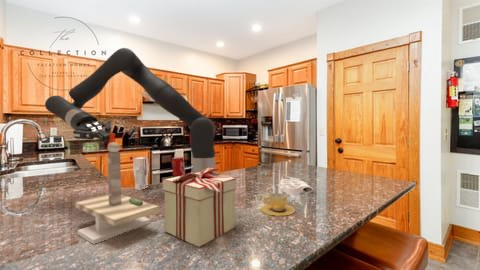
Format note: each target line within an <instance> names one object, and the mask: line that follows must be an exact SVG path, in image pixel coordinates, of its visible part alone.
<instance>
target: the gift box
mask: <svg viewBox="0 0 480 270" xmlns="http://www.w3.org/2000/svg"><path fill="white" fill-rule="evenodd" d="M219 170H220V169H219V168H216V167H215V168H206V169H204V170H202V171H201V172H198V173H193V172H189V173H185V175H183V176H179V177H174V178H173V177H170V178H165V179H163V180H162V191H164V231H165V233H168V234H170V235H172V236H175V237H176V238H178V239H180V240H182V241H185V242H187V243H189V244H191V245H193V246H196V247H197V248H200V247H203V246H204V245H206V244H207V243H209V242H211V241H213V240H215V239H217V238H219V237H221V236H222V235H224V234H226V233H228V232H230V231H232V230H233V229H235V228H236V227H235V225H236V222H235V218H236V214H235V211H236V202H235V201H236V189H237V178H239V176H234V175H230V174H223V173H221V174H220V173H219V174H217V173H215V174H214V173H212V172H213V171H215V172H217V171H219Z"/></svg>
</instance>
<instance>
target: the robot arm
mask: <svg viewBox="0 0 480 270" xmlns="http://www.w3.org/2000/svg"><path fill="white" fill-rule="evenodd" d="M119 73H122V74H124V75H125V76H127V77H129V78H130V79H132V80H133V81H134V82H136V83H137V84H138V85H139V86H141V87H142V88H143V89H144V91H145V93H147V94H148V96H149V97H150V98H151V99H152V100H153V101H154V102H155V103H156V104H158V105H159V106H160V107H161V108H163V110H165V111H166V112H168V113H170V114H171V115H172V116H174V117H176V118H178V119H180V120H181V121H182V122H183V123H184V124H185V125H187V126H188V128H190V129H189V130H190V131H189V132H190V134H189V137H190V139H189V141H190V151H191V153H192V159H191V160H192V173H198V172H201V171H202V170H204V169H206V168H216V150H215V145H214V136H215V134H216V131H217V128H216V124H215V123H214V122H213V120H211V119H210V118H209V117H208V116H205V115H204V114H203V113H202V112H200V111H198V109H196V108H195V107H194V106H193V105H192V104H190V102H189V101H188V100H187V99H186V98H185V96H183V95H182V94H181V93H180V92H179V91H178V90H177V89H175V88H174V87H173V85H171V84H169V83H168V82H167V81H165V80H164V79H162V78H160V77H158V76H157V75H155V74H154V73H153V72H152V71H151V70H150V69H149V68H148V67H147V66H146V65H145V64H144V63H143V62H142V61H141V59H140V58H139V57H138V55H136V53H135V52H133V50H131V49H130V48H126V47H121V48H119V49H117V50H116V51H114V52H113V53H112V54H111V55H110V56H109V57H108V58H107V59H106V60H105V61H104V62H103V63H102V64H100V66H98V68H97V69H96V70H94V72H93V73H91V74H90V75H89V76H88V77H86V78H85V79H84V80H82V81H81V82H80V83H78V84H77V85H75V86H73V87H72V88H71V89H70V90H69V91H68V95H69V96H70V98H71V99H72V100H73V102H71V101H68V100H67V99H66V98H64V97H62V96H61V95H51V96H49V97H48V98H47V99H46V100H45V102H44V103H45V104H44V106H45V109H46V110H47V111H48V112H50V113H51V114H53V115H55V116H56V117H58V118H60V119H61V120H62V121H63V122H65V123H66V124H67V125H68V126H69V127H70V128H72V133H73V138H74V139H77V140H80V139H81V140H94V139H97V140H100V141H102V142H109V141H110V139H111V135H110V133H111V132H112V131H111V130H112V129H113V125H112V121H110V120H109V121H107V122H106V123H104V122H103V121H99V120H98V118H97V117H95V116H94V115H92V114H91V113H89V112H87V111H86V110H83V109H82V108H83V107H84V106H85V105H86V104H87V103H88V102H89V101H92V99H93V98H95V97H96V96H97V95H99V93H101V92H102V91H103V89H104V88H105V86H106V85H107V83H108V82H109V81H110V80H111V79H112V78H113V77H115V76H116V75H117V74H119ZM212 173H214V174H216V171H213V172H212Z"/></svg>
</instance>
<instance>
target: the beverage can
mask: <svg viewBox="0 0 480 270" xmlns="http://www.w3.org/2000/svg"><path fill="white" fill-rule="evenodd" d="M171 167H172V178H174V177H179V176H183V175H186V169H185V159H184V156H178V157H172V160H171Z"/></svg>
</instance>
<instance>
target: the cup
mask: <svg viewBox="0 0 480 270" xmlns="http://www.w3.org/2000/svg"><path fill="white" fill-rule="evenodd" d="M267 199H268V200H269V202H268V201H267ZM263 201H264V205H262V206H261V207H260V211H261V212H263V213H264V214H266V215H270V216H277V217H284V216H290V215H292V214H295V212H296V208H294V207H293V206H292V205H288V204H287V202H288V194H287V193H284V192H283V193H282V192H273V193H269V194H268V195H267V196H264V197H263ZM270 209H272V210H273V211H272V210H270ZM284 209H285V211H284ZM274 211H275V212H274ZM283 211H284V212H283Z"/></svg>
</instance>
